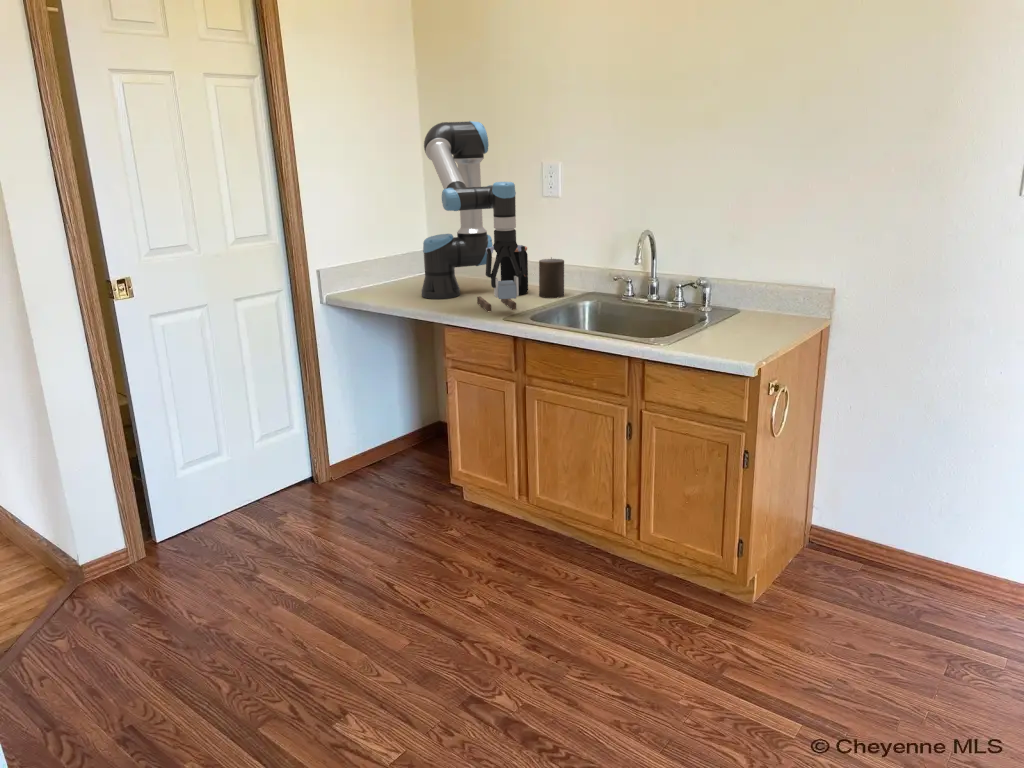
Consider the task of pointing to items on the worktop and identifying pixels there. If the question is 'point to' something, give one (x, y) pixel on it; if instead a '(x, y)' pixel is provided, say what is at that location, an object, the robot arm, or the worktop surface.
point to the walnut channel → (488, 306)
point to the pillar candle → (551, 278)
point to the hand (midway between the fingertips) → (506, 295)
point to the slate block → (506, 289)
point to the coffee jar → (509, 271)
